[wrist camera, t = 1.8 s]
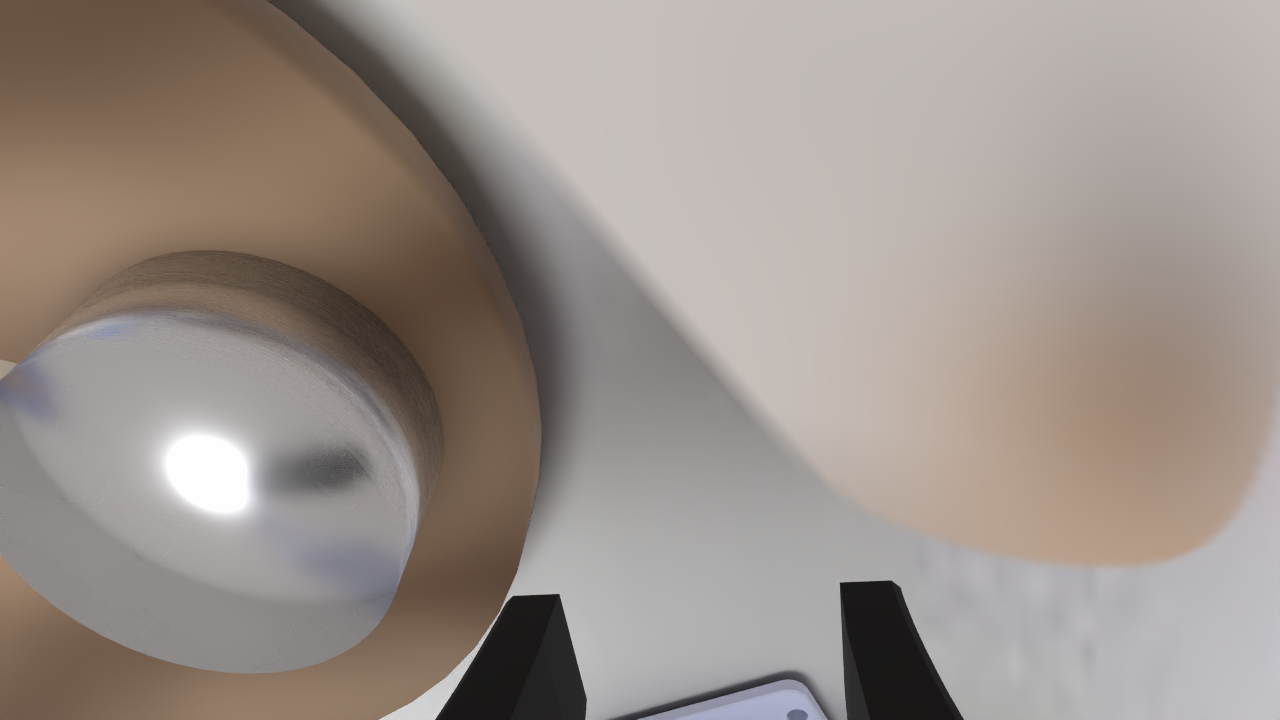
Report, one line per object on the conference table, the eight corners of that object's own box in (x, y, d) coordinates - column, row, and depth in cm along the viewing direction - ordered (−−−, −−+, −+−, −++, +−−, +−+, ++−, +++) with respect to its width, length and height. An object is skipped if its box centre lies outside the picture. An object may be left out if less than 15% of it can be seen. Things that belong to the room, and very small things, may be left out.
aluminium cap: (515, 490, 19) (482, 609, 17) (239, 592, 21) (173, 711, 19) (283, 183, 16) (199, 274, 13) (-13, 342, 18) (-132, 445, 16)
